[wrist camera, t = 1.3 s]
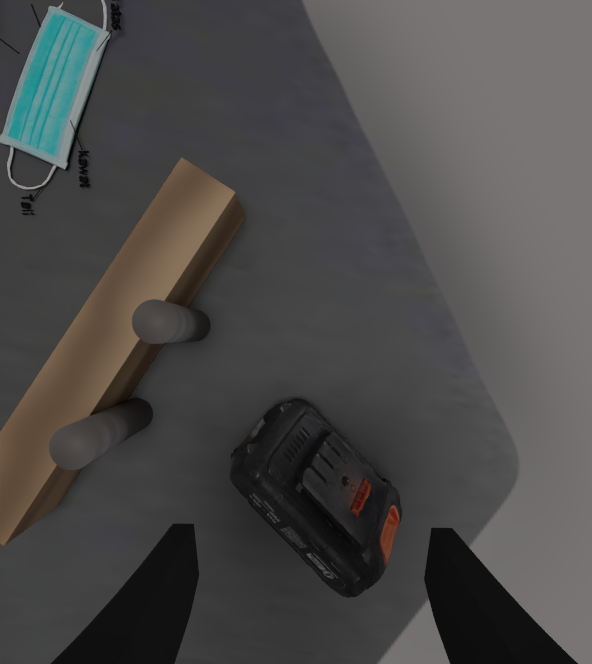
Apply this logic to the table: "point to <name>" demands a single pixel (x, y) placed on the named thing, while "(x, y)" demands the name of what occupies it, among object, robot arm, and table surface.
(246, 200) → the table surface
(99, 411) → the bar
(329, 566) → the battery
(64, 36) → the surgical mask
